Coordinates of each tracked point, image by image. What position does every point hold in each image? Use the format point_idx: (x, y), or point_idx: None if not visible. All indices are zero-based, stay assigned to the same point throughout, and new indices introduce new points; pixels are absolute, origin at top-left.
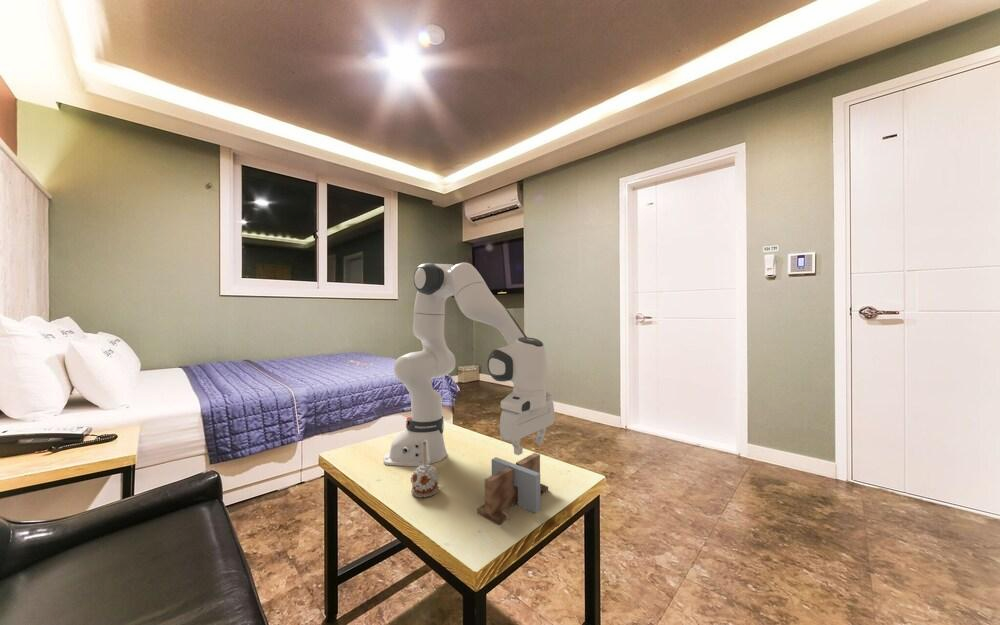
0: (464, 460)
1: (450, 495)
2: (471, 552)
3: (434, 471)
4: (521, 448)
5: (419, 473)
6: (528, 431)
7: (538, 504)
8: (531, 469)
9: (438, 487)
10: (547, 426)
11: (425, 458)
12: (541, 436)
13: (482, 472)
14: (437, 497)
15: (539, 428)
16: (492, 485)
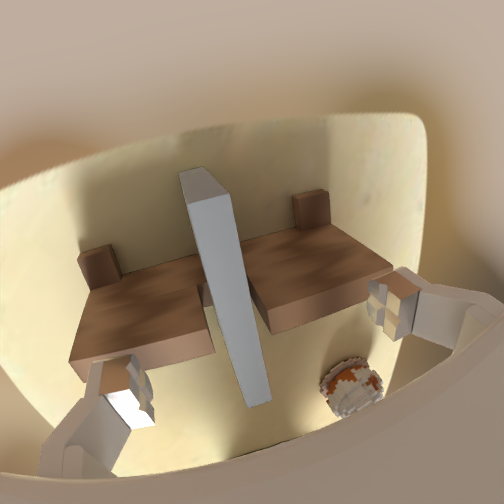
0: (205, 447)
1: (319, 351)
2: (410, 154)
3: (354, 401)
4: (410, 291)
5: (380, 396)
6: (481, 385)
7: (192, 173)
8: (130, 318)
9: (326, 378)
10: (24, 477)
11: None
12: (102, 409)
13: (198, 406)
14: (341, 352)
15: (208, 491)
16: (373, 260)
